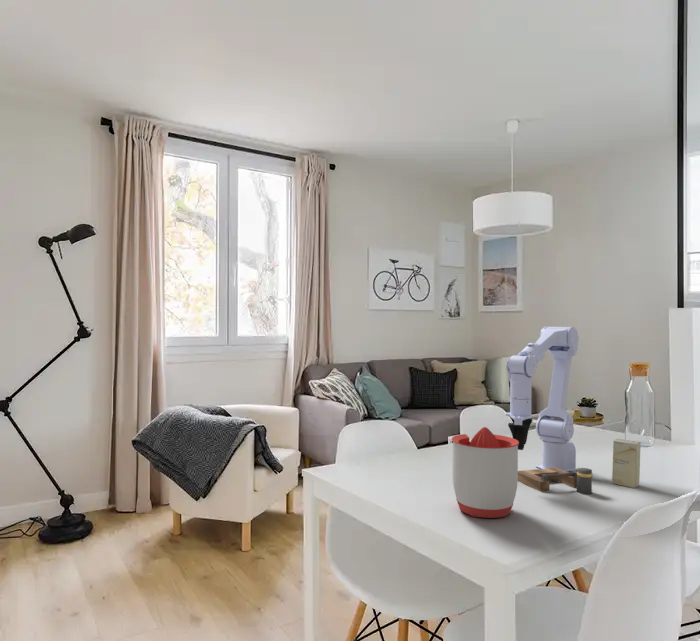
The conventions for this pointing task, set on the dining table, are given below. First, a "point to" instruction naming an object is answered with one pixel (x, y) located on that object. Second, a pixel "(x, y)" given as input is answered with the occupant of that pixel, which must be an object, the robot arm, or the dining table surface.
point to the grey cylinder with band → (584, 480)
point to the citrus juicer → (485, 473)
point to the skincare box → (626, 463)
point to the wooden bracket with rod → (546, 478)
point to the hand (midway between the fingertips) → (520, 446)
